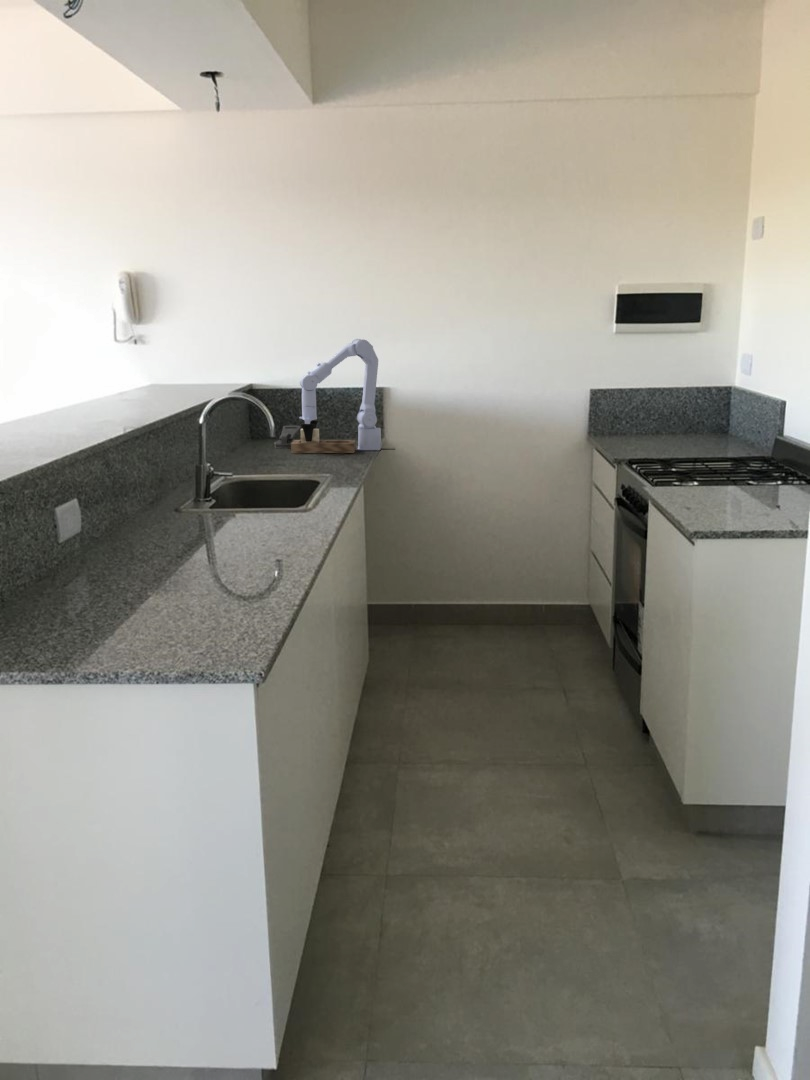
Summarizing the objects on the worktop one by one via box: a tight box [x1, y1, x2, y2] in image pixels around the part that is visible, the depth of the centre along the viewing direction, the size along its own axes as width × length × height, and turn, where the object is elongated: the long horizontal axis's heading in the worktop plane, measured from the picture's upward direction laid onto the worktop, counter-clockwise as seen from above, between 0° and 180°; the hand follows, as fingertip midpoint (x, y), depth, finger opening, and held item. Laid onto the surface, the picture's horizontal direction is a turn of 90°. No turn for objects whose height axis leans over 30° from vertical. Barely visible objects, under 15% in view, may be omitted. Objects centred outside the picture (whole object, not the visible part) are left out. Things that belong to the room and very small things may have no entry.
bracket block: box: [299, 428, 320, 443], centre depth 365 cm, size 7×4×8 cm, turn 89°
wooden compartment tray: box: [290, 439, 357, 454], centre depth 366 cm, size 25×10×4 cm, turn 89°
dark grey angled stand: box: [273, 425, 302, 449], centre depth 386 cm, size 9×7×25 cm
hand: (309, 439), depth 365 cm, fingers open, 7 cm apart
